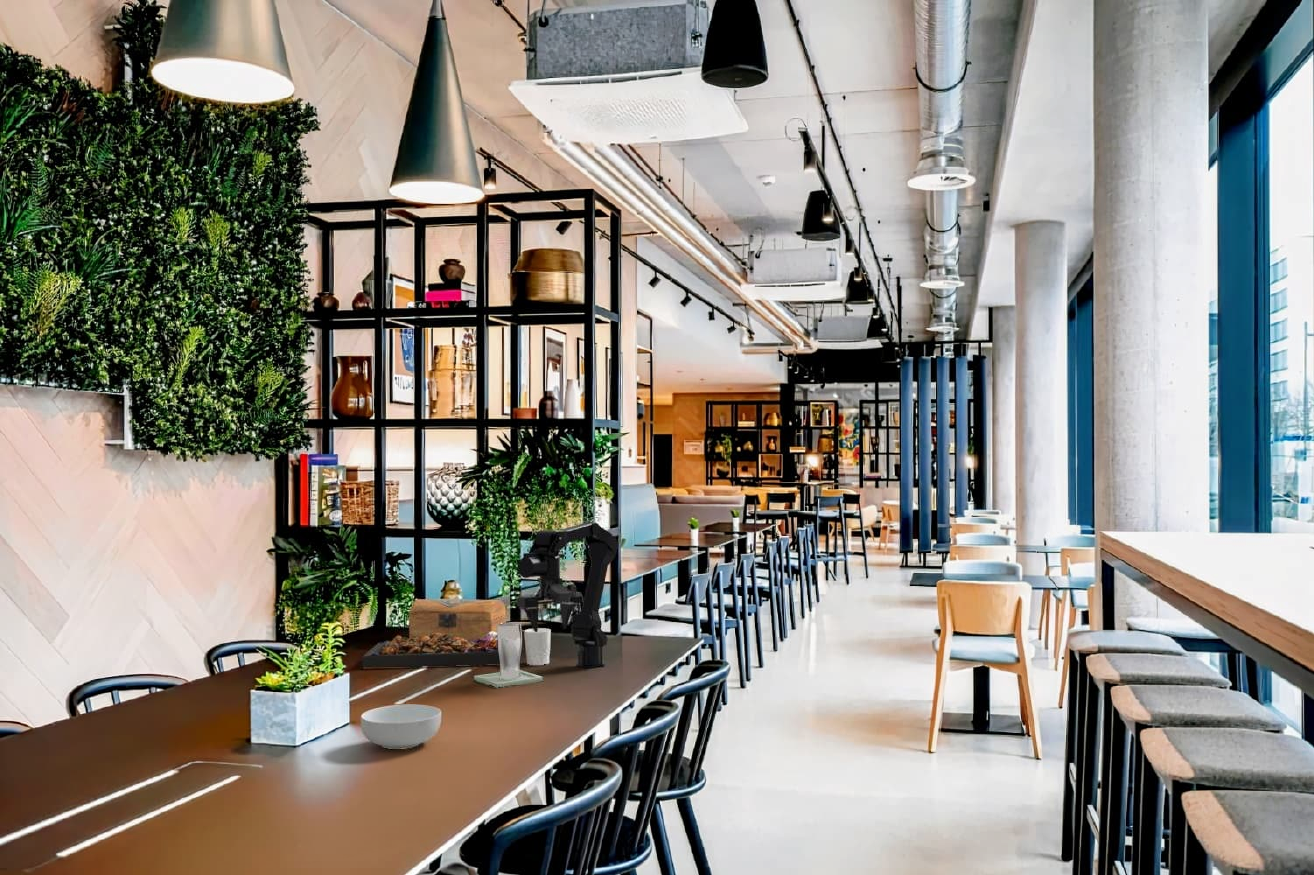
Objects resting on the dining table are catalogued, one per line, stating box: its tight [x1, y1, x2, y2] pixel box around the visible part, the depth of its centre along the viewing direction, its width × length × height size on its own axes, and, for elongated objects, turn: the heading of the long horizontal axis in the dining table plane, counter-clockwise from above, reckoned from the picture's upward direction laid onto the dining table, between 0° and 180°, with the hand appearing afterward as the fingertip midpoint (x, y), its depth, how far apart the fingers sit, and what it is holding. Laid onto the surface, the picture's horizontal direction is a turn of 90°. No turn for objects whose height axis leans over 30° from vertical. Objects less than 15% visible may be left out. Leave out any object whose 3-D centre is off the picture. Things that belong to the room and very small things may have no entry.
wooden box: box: [408, 598, 507, 640], centre depth 370 cm, size 30×16×14 cm, turn 78°
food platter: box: [361, 631, 500, 668], centre depth 332 cm, size 45×25×10 cm, turn 94°
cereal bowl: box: [360, 703, 442, 749], centre depth 231 cm, size 17×17×7 cm
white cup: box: [523, 627, 552, 666], centre depth 323 cm, size 8×8×10 cm
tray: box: [473, 669, 544, 689], centre depth 298 cm, size 14×14×1 cm
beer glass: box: [497, 622, 523, 680], centre depth 298 cm, size 7×7×15 cm
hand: (550, 630), depth 303 cm, fingers open, 9 cm apart
